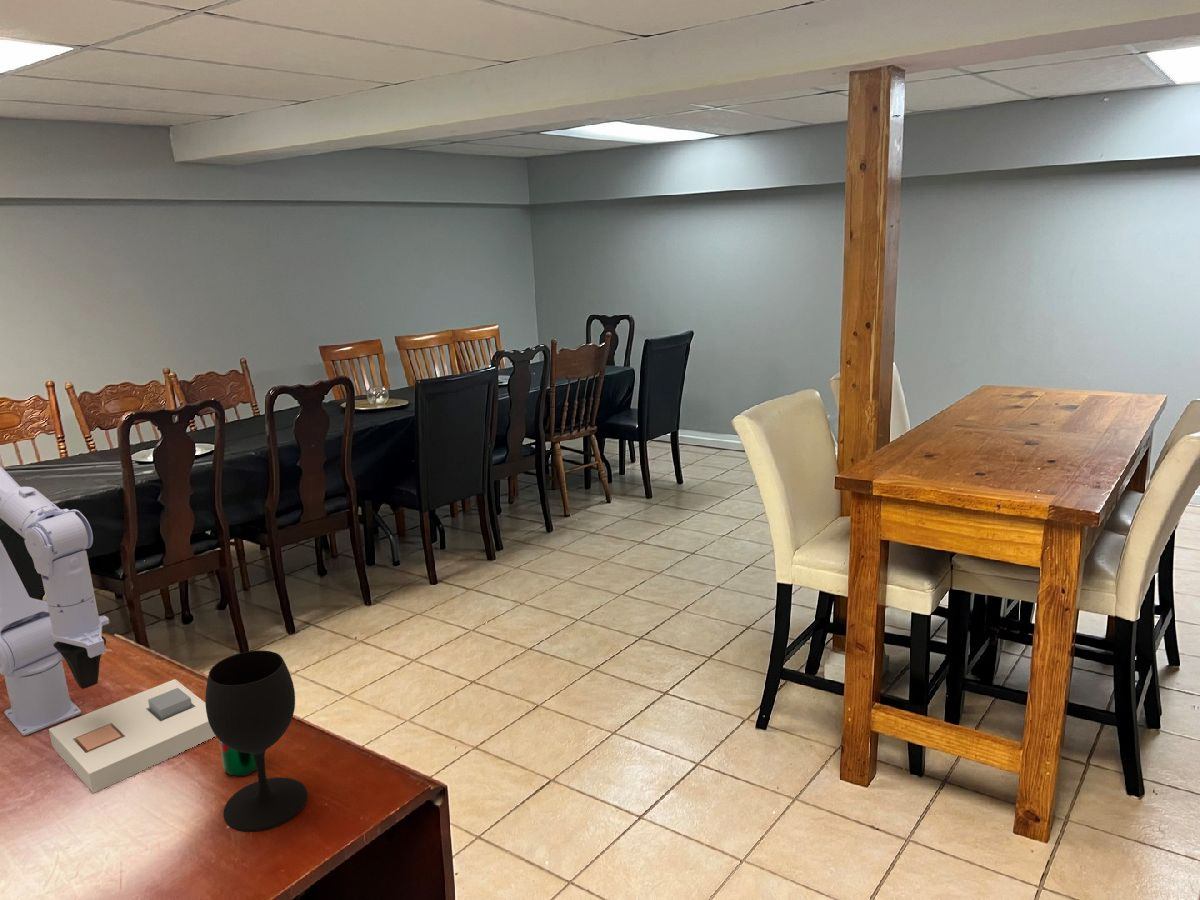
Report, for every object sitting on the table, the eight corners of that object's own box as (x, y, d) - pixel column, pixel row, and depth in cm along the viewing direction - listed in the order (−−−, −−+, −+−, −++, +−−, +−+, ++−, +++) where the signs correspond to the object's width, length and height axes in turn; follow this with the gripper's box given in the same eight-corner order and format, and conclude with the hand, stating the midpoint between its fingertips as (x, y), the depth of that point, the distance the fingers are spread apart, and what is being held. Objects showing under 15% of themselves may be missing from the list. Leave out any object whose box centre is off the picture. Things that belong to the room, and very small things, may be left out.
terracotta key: (79, 750, 124) (76, 738, 124) (111, 736, 127) (109, 724, 127) (90, 762, 121) (87, 750, 121) (123, 748, 124) (121, 736, 124)
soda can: (249, 780, 119) (238, 701, 115) (216, 776, 120) (204, 698, 116) (270, 757, 123) (259, 682, 120) (238, 754, 124) (226, 678, 121)
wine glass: (222, 792, 116) (201, 657, 111) (304, 771, 120) (287, 640, 115) (223, 841, 107) (200, 697, 102) (311, 817, 111) (293, 677, 106)
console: (52, 747, 127) (48, 729, 126) (177, 695, 140) (174, 679, 139) (93, 793, 117) (89, 773, 116) (224, 733, 129) (221, 715, 129)
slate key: (150, 711, 131) (148, 699, 130) (179, 699, 134) (177, 687, 133) (162, 722, 128) (160, 710, 127) (192, 709, 131) (190, 697, 131)
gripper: (121, 602, 120) (137, 690, 123) (83, 575, 129) (99, 658, 133) (64, 621, 115) (83, 712, 118) (29, 591, 124) (47, 676, 128)
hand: (88, 684), depth 125 cm, fingers closed
